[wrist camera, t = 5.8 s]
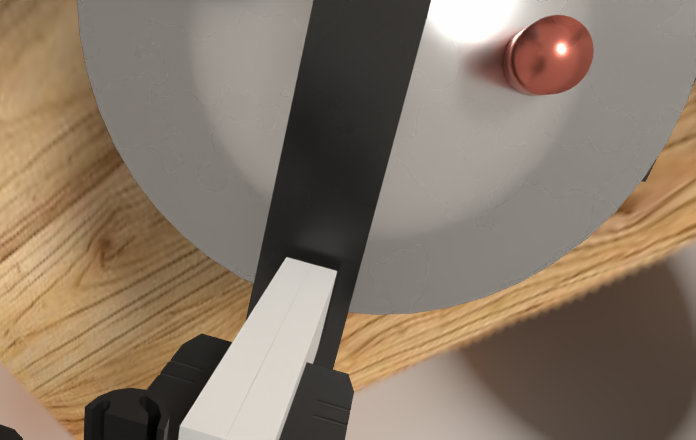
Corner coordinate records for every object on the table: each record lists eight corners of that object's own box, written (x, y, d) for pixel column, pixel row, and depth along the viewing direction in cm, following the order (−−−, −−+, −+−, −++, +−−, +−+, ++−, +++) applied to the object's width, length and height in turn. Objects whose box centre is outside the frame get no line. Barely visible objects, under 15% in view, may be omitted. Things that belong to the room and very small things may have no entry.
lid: (55, 383, 20) (-8, 433, 17) (139, -395, 14) (63, -541, 11) (501, 512, 19) (521, 590, 16) (807, -255, 13) (935, -370, 10)
